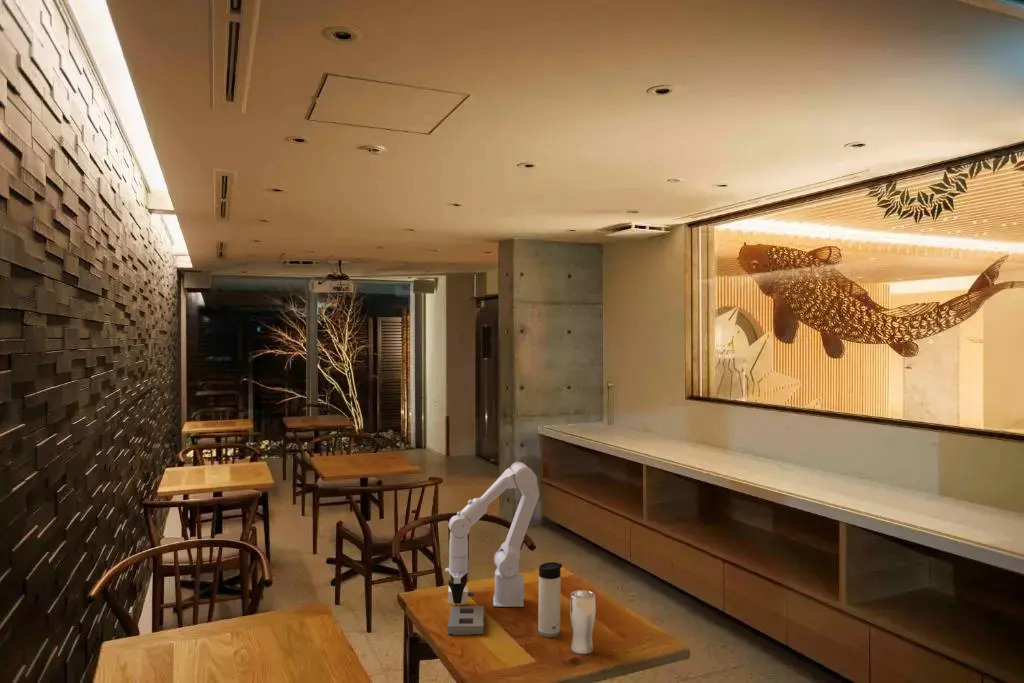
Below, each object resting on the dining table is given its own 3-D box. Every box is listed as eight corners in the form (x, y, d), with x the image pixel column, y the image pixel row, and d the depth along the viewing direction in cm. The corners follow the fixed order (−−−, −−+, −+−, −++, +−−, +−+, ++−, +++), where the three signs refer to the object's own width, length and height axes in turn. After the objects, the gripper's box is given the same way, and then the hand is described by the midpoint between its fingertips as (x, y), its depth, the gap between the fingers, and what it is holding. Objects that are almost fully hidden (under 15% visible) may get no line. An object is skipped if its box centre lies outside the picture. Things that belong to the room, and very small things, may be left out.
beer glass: (578, 640, 196) (579, 587, 196) (599, 648, 192) (600, 594, 191) (564, 649, 191) (564, 595, 190) (585, 657, 187) (586, 601, 186)
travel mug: (559, 638, 197) (560, 568, 197) (536, 636, 199) (537, 566, 198) (562, 629, 204) (563, 561, 203) (540, 627, 205) (540, 559, 204)
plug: (474, 603, 222) (474, 585, 222) (473, 609, 217) (474, 591, 217) (448, 603, 222) (449, 585, 221) (448, 609, 217) (448, 591, 217)
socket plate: (483, 614, 213) (483, 606, 213) (483, 634, 200) (483, 626, 199) (450, 614, 213) (450, 606, 213) (447, 635, 199) (447, 626, 199)
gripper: (446, 547, 226) (446, 589, 226) (444, 562, 211) (443, 607, 212) (468, 547, 226) (468, 589, 226) (467, 562, 212) (466, 607, 212)
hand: (457, 598), depth 219 cm, fingers open, 7 cm apart
